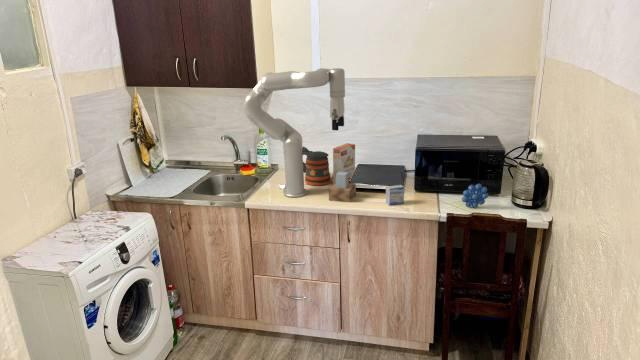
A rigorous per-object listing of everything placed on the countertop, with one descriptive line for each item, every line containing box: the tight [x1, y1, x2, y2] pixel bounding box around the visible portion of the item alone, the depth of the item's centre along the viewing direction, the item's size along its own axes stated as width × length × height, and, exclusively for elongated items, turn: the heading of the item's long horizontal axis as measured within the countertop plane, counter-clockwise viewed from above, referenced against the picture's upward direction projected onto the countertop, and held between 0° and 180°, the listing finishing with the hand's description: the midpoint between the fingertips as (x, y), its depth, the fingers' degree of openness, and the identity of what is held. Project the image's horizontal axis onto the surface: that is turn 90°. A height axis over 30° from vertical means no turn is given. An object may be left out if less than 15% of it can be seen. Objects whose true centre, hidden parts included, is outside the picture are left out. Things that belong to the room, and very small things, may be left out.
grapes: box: [461, 183, 489, 209], centre depth 221 cm, size 12×7×12 cm, turn 74°
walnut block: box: [328, 182, 357, 203], centre depth 240 cm, size 11×11×6 cm
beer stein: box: [302, 145, 332, 187], centre depth 264 cm, size 19×15×20 cm
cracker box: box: [332, 143, 356, 185], centre depth 261 cm, size 14×6×21 cm, turn 143°
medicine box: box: [385, 184, 405, 206], centre depth 230 cm, size 8×4×9 cm, turn 105°
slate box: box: [336, 172, 348, 189], centre depth 238 cm, size 5×5×7 cm
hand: (338, 128), depth 239 cm, fingers open, 9 cm apart
